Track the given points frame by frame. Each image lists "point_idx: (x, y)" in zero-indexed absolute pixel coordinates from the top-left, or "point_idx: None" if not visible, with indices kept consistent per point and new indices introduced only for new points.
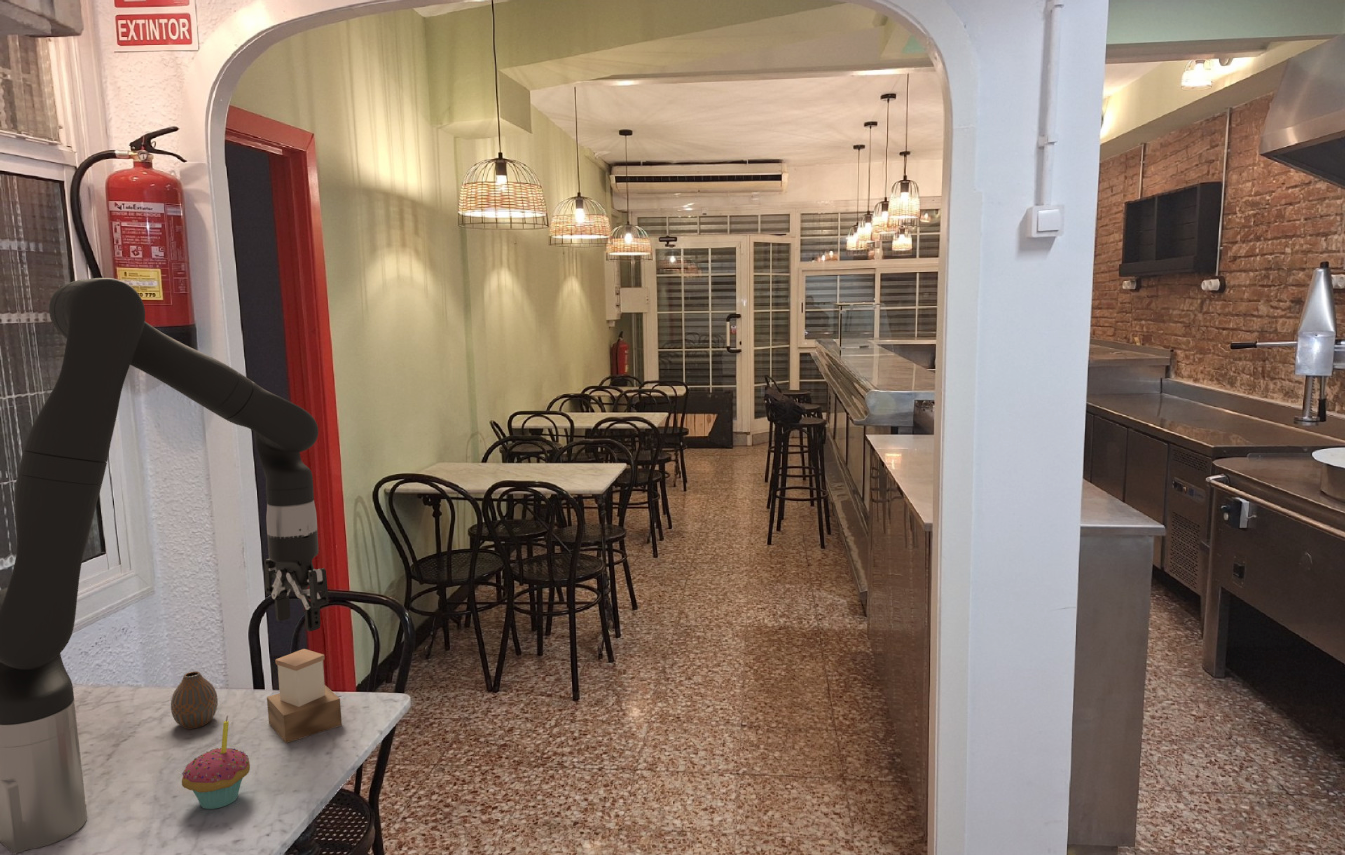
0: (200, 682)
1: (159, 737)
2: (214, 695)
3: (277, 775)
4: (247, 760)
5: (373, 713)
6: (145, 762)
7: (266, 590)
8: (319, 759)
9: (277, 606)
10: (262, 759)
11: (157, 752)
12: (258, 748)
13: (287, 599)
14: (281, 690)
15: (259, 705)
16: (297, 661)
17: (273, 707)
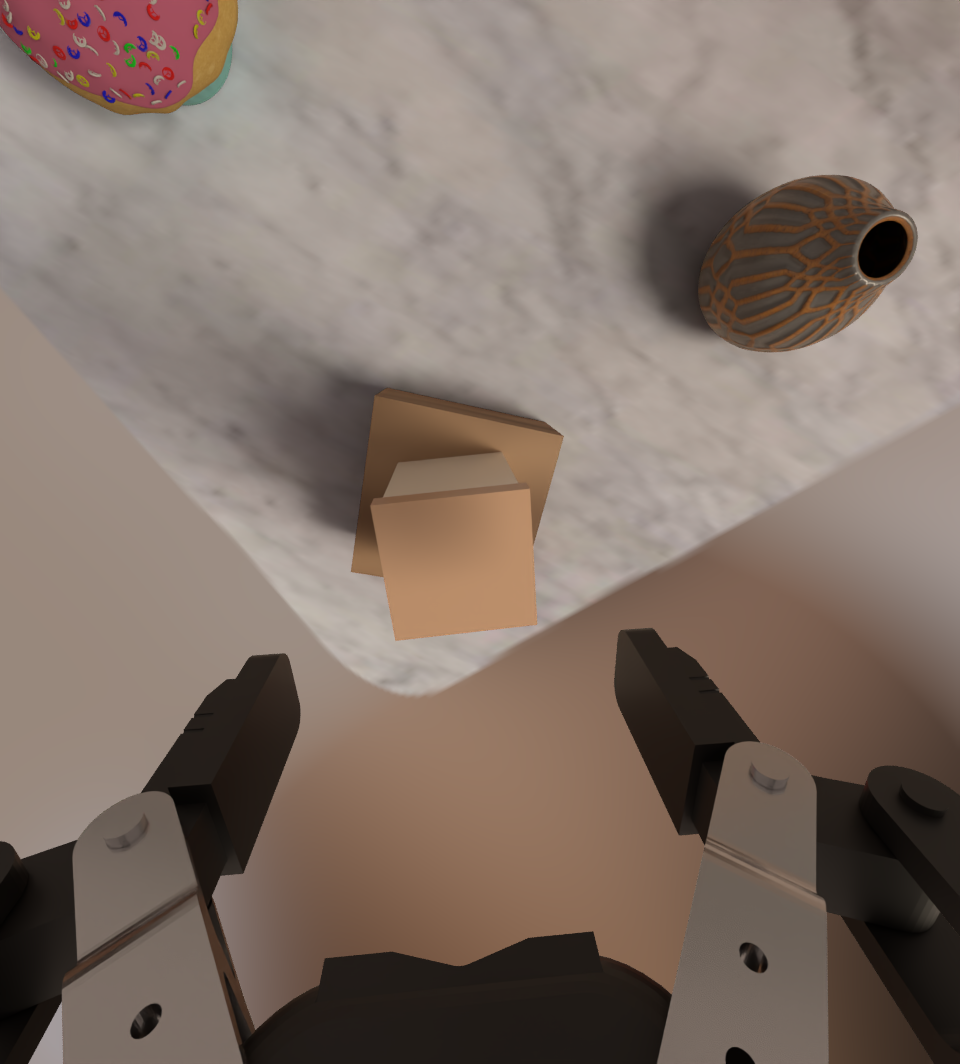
0: (810, 270)
1: (763, 144)
2: (741, 324)
3: (206, 261)
4: (46, 65)
5: (363, 618)
6: (640, 4)
7: (923, 792)
8: (215, 395)
9: (668, 701)
10: (342, 287)
11: (671, 78)
12: (420, 318)
13: (673, 805)
14: (494, 461)
15: (672, 463)
16: (419, 538)
17: (490, 418)
